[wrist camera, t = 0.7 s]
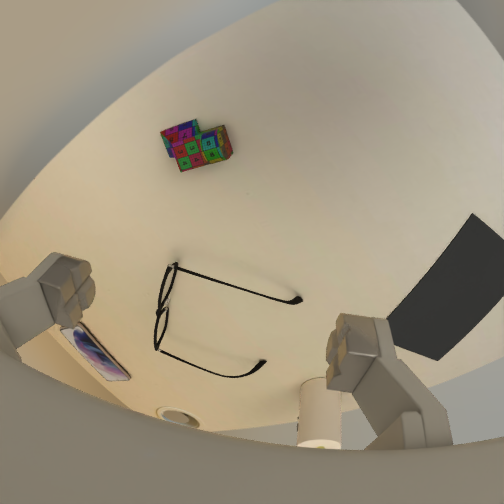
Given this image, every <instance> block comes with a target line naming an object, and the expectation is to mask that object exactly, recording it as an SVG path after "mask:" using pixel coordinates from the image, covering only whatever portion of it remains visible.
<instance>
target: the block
mask: <svg viewBox="0 0 504 504" xmlns="http://www.w3.org/2000/svg"><path fill="white" fill-rule="evenodd" d="M160 133H161V136H162V139H163V141H164V144H165V147H166V149H167V152H168V155H169V157H170V158H175V159H176V161H177V164H178V167H179V169H180V172H184V171H187V170H191V169H194V168H197V167H201V166H204V165H208V164H213V163H216V162H220V161H223V160H227V159H229V158H230V156H231V155H232V154H233V151H232V148H231V145H230V141H229V138H228V135H227V132H226V129H225V126H224V125H222V126H218V127H215V128H212V129H208V130H205V131H202V132H200V129H199V126H198V123H197V120H196V119H195V120H192V121H189V122H186V123H183V124H180V125H178V126H175V127H172V128H169V129H167V130H164V131H161V132H160Z"/></svg>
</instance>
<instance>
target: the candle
mask: <svg viewBox="0 0 504 504" xmlns="http://www.w3.org/2000/svg"><path fill="white" fill-rule="evenodd" d="M298 419H299V423H298V424H297V431H298V435H297V446H299V447H310V448H322V449H340V448H341V391H335V390H327V389H326V378H315V379H311V380H308V381H306V382H305V383H304V384H303V385H302V386H301V393H300V408H299V417H298Z"/></svg>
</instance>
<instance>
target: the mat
mask: <svg viewBox="0 0 504 504" xmlns="http://www.w3.org/2000/svg"><path fill="white" fill-rule="evenodd" d="M503 296H504V240H503V239H502V238H501V237H500V236H499V235H498V234H496V233H495V232H494V231H493V230H492V229H491V228H490V227H488V226H487V225H486V224H485V223H484V222H483V221H481V220H480V219H479V218H478V217H477V216H475V215H474V214H473V213H472V214H471V216H470V217H469V219H468V220H467V222H466V223H465V224H464V226H463V227H462V228H461V230H460V231H459V233H458V234H457V235H456V237H455V238H454V239H453V241H452V242H451V243H450V245H449V246H448V247H447V248H446V250H445V251H444V252H443V254H442V255H441V256H440V257H439V259H438V260H437V261H436V262H435V264H434V265H433V266H432V267H431V269H430V270H429V271H428V272H427V273H426V275H425V276H424V277H423V278H422V279H421V281H420V282H419V283H418V284H417V285H416V286H415V288H414V289H413V290H412V291H411V292H410V293H409V294H408V296H407V297H406V298H405V299H404V300H403V301H402V302H401V303H400V305H399V306H398V307H397V308H396V309H395V310H394V311H393V312H392V313H391V314H390V315H389V316H388V317H387V320H388V322H389V326H390V330H391V335H392V339H393V343H394V345H396V346H399V347H401V348H404V349H407V350H409V351H412V352H415V353H417V354H420V355H423V356H425V357H428V358H431V359H433V360H436V361H438V360H440V359H441V358H442V357H443V356H444V355H445V354H446V353H448V352H449V351H450V350H451V349H452V348H453V347H454V346H455V345H456V344H457V343H458V342H460V341H461V340H462V339H463V338H464V337H465V336H466V335H467V334H468V333H469V332H470V331H471V330H472V329H473V328H474V327H475V326H476V325H477V324H478V323H479V322H480V321H481V320H482V319H483V318H484V317H485V316H486V315H487V314H488V313H489V311H490V310H491V309H492V308H493V307H494V306H495V305H496V304H497V303H498V302H499V301H500V299H501V298H502V297H503Z"/></svg>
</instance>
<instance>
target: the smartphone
mask: <svg viewBox="0 0 504 504" xmlns="http://www.w3.org/2000/svg"><path fill="white" fill-rule="evenodd" d="M60 331H61V333H62V334H63V335H64V336H65V337H66V338H67V340H68V341H69V342H70V343H71V344H72V345H73V346H74V347H75V348H76V349H77V350H78V352H79V353H80V354H81V355H82V356H83V357H84V358H85V359H86V360H87V361H88V362H89V363H90V364H91V365H92V366H93V367H94V368H95V369H96V370H97V371H98V372H99V373H100V374H101V375H102V376H103V377H104V378H105V379H106V380H107V381H128V380H130V379H131V377H130V376H129V375H128V374H127V373H126V372H125V371H124V370H123V369H122V368H121V367H120V366H119V365H118V364H117V362H116V361H115V360H114V359H113V358H112V357H111V356H110V355H109V354H108V353H107V352H106V351H105V350H104V349H103V348H102V346H101V345H100V344H99V343H98V342H97V341H96V340H95V339H94V337H93V336H92V335H91V334H90V333H89V332H88V331H87V329H86V328H85V327H84V326H83V325H82V324H81V323H78V324H77V325H76V327H75V328H74V329H70V328H67V327H65V326H62V327H61V328H60Z"/></svg>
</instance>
